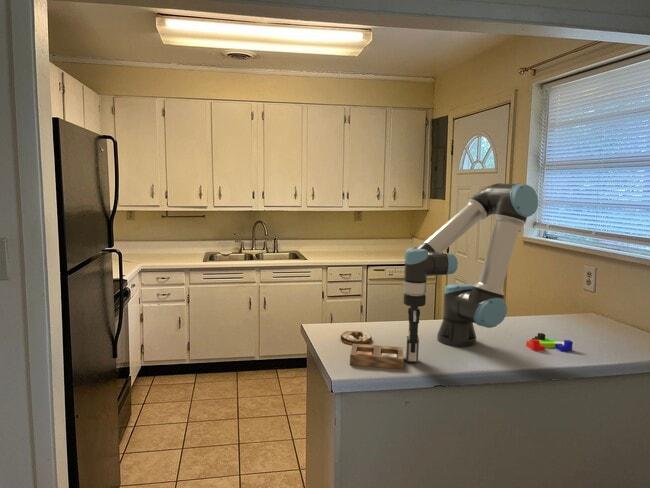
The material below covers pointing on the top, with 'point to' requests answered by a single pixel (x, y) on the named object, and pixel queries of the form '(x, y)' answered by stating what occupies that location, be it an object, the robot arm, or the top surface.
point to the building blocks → (548, 344)
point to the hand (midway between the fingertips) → (411, 358)
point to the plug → (408, 349)
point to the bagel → (356, 337)
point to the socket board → (377, 356)
